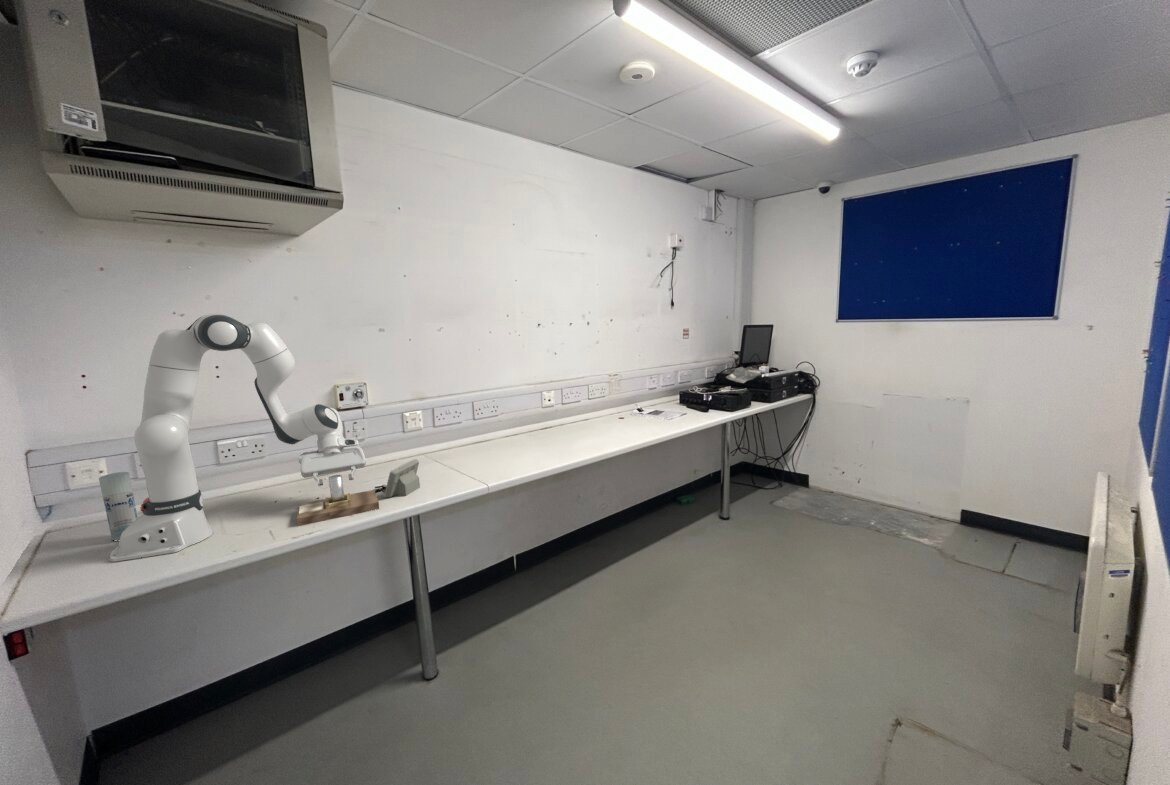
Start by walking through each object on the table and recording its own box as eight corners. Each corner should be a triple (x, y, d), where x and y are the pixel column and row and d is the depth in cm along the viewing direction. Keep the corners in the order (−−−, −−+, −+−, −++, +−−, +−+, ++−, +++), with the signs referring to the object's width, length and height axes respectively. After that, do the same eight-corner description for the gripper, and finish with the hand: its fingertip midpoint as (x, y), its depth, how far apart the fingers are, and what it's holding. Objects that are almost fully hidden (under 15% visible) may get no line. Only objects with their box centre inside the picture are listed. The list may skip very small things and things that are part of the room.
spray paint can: (112, 537, 141) (99, 475, 138) (141, 530, 145) (129, 470, 142) (111, 544, 136) (98, 480, 133) (141, 536, 141) (129, 474, 138)
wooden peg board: (297, 526, 145) (296, 514, 144) (299, 511, 157) (297, 500, 156) (379, 508, 157) (378, 497, 156) (374, 496, 169) (373, 485, 168)
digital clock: (411, 482, 182) (409, 457, 180) (429, 485, 178) (426, 459, 176) (378, 497, 168) (375, 469, 166) (396, 500, 164) (393, 472, 162)
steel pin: (332, 513, 154) (328, 479, 152) (332, 509, 158) (328, 476, 156) (346, 510, 156) (342, 477, 154) (345, 506, 159) (341, 474, 158)
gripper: (297, 448, 157) (300, 484, 150) (362, 439, 167) (367, 472, 160) (299, 458, 161) (302, 492, 154) (362, 448, 171) (368, 480, 164)
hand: (336, 482), depth 157 cm, fingers open, 8 cm apart
